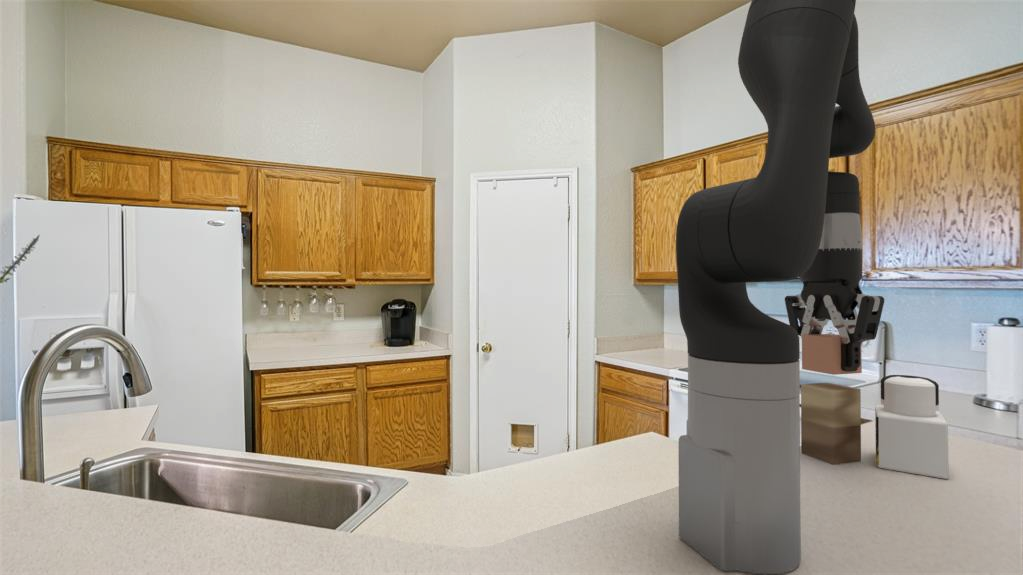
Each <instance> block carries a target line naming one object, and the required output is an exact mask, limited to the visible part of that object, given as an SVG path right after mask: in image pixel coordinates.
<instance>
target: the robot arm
mask: <svg viewBox="0 0 1023 575" xmlns="http://www.w3.org/2000/svg"><path fill="white" fill-rule="evenodd" d="M856 3H857V0H751V2H750V5H749V8H748V11H747V15H746V20H745V23H744V27H743V32H742V36H741V41H740V45H739V53H738V58H737V67H738V72H739V76H740V79H741V82H742V83H743V85H744V88H745V89H746V91H747V93H748V95H749V96H750V98H751V99H752V101H753V103H754V104H755V106H756V107H757V109H758V110H759V111H760V113H761V114H762V116H763V118H764V121H765V122H766V126H767V142H766V150H765V154H764V155H765V156H764V160H763V163H762V166H761V168H760V171H759V172H758V173H757V175H756V177H752V178H748V179H743V180H740V181H738V180H737V181H733V182H729V183H725V184H720V185H716V186H712V187H708V188H704V189H701V190H698V191H696V192H694V193H693V194H691V195H690V196H689V197H688V198H687V199H686V200H685V201H684V203H683V205H682V206H681V210H680V212H679V215H678V219H677V224H676V230H675V231H676V232H675V257H676V258H675V259H676V260H675V262H676V272H677V274H676V275H677V277H676V278H677V291H678V292H677V293H678V311H679V319H680V323H681V327H682V329H683V331H684V335H685V338H686V340H687V341H686V343H687V434H682V435H680V436H679V438H678V537H679V538H680V539H681V540H683V541H684V542H685V543H686V544H688V545H689V546H690V547H691V548H693V549H694V550H695V551H697V552H698V553H699V554H701V556H703V557H704V558H706V559H707V560H708V561H709V562H710V563H711V564H713V565H714V566H715V567H717V569H719V570H721V571H723V572H728V571H734V570H735V571H742V572H746V573H752V574H761V575H775V574H778V575H779V574H782V573H783V574H784V573H787V572H790V571H792V570H795V569H796V568H797V567H798V566H799V565H800V563H801V560H802V559H801V558H802V555H801V554H802V550H801V549H802V546H801V542H802V539H801V531H802V530H801V522H802V521H801V520H802V519H801V514H802V513H801V384H800V382H801V381H800V378H801V377H800V374H801V373H800V368H801V367H800V358H801V357H800V350H801V349H800V337H801V339H802V335H810V334H823V330H824V327H825V326H827V324H828V322H829V321H830V320H831V323H832V325H833V327H834V328H836V330H837V331H838V335H840V338H841V341H842V342H843V343H844V344H841V369H842V371H847V372H851V371H857V369H858V367H859V366H860V364H861V361H860V345H861V346H862V344H863V342H866V341H867V342H868V341H871V340H872V341H873V340H875V339H876V338H877V334H878V331H879V326H880V322H881V317H882V312H883V308H884V305H885V298H884V297H883V295H882V296H881V295H869V294H865V293H863V291H862V289H861V288H860V287H861V286H860V282H861V280H863V230H862V224H861V216H860V182H859V181H860V180H859V178H858V176H857V175H855V174H854V173H850V172H846V171H845V172H844V171H829V166H830V165H829V164H830V159H835V158H841V157H850V156H851V157H852V156H855V155H859V154H861V153H863V152H865V151H866V150H867V149H868V148H869V147H870V146H871V144H872V143H873V140H874V138H875V136H876V135H875V134H876V123H875V120H874V115H873V113H872V111H871V108H870V107H869V104H868V102H867V99H866V96H865V95H864V94H865V93H864V91H863V87H862V84H861V79H860V66H859V62H860V61H859V25H858V21H857V17H856V15H855V11H856V10H855V9H856ZM836 104H837V105H836ZM798 278H799V279H798ZM797 279H798V280H799V281H801V282H802V283H803V284H802V286H803V287H802V290H801V292H800V293H799V294H795V295H787V296H785V297H784V304H785V309H786V313H787V318H788V323H789V324H788V323H785V322H783V321H781V320H778V319H776V318H774V317H772V316H769V315H768V314H766V313H765V312H763V311H761V310H760V309H759V308H758V307H756V306H755V305H754V304H753V303H752V301H751V300H750V298H749V296H748V290H747V289H748V288H747V284H746V283H763V282H765V283H771V282H785V281H786V282H787V281H792V280H797ZM856 308H857V309H858V312H857V310H856ZM799 336H800V337H799Z"/></svg>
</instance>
